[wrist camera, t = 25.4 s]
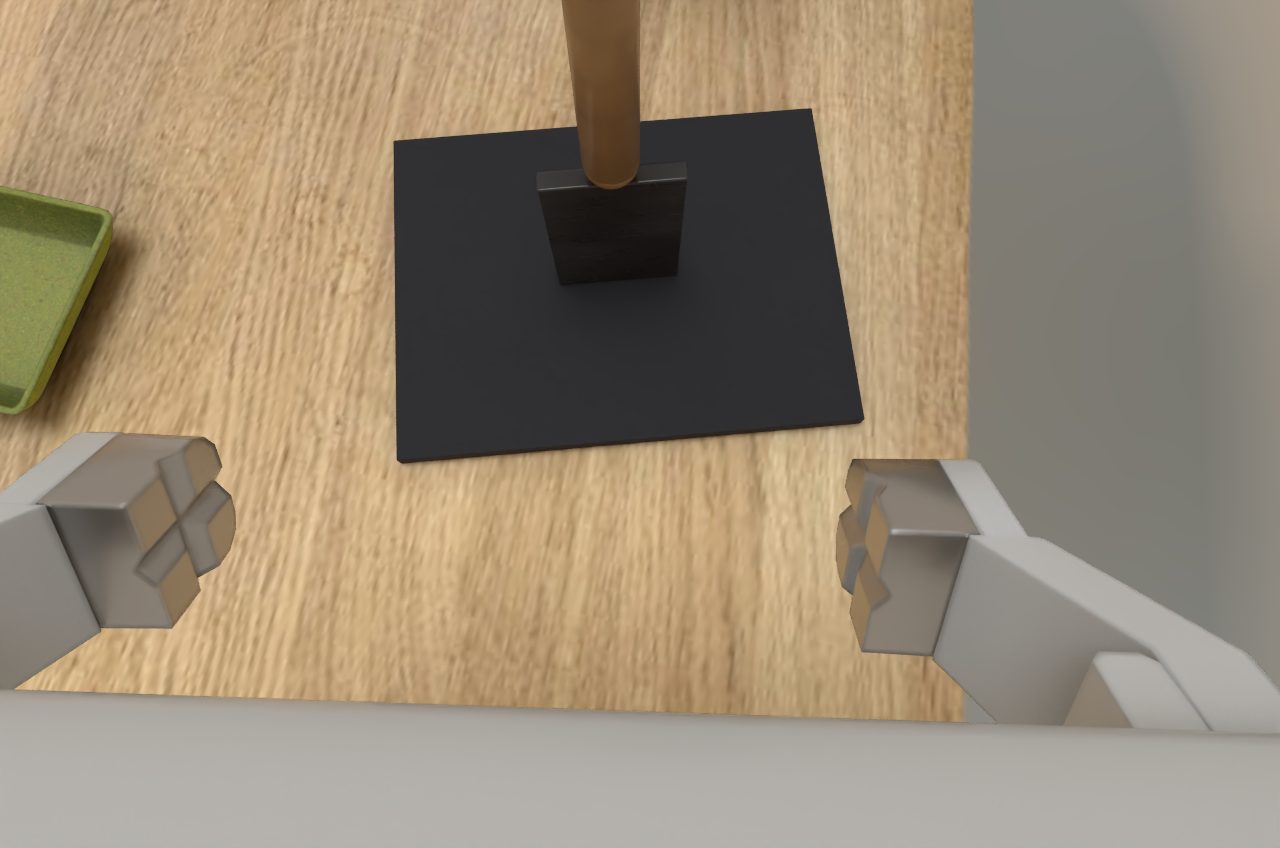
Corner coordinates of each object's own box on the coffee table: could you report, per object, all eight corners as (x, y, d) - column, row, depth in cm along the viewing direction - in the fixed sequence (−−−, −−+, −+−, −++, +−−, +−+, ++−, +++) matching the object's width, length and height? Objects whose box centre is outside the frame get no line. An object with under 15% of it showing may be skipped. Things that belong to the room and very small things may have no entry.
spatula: (674, 248, 32) (733, -410, 12) (678, 288, 31) (749, -325, 11) (557, 257, 32) (414, -390, 12) (560, 298, 31) (415, -303, 11)
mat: (808, 116, 34) (811, 107, 33) (860, 423, 30) (864, 419, 30) (397, 148, 34) (393, 140, 33) (401, 463, 30) (396, 460, 29)
